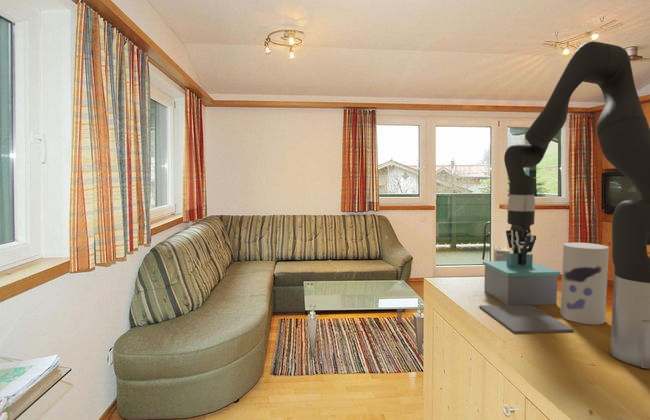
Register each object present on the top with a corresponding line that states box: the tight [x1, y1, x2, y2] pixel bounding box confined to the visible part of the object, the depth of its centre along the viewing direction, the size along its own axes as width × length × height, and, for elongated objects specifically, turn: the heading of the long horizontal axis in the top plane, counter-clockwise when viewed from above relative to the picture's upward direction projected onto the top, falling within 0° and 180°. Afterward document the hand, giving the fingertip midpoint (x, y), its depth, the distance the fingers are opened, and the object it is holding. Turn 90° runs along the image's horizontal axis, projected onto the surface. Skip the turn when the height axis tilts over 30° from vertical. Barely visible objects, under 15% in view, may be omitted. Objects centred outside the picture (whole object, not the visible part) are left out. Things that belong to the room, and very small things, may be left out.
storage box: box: [483, 265, 559, 306], centre depth 122 cm, size 15×15×9 cm
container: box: [560, 242, 610, 326], centre depth 103 cm, size 10×10×20 cm
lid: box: [482, 252, 561, 276], centre depth 122 cm, size 16×16×6 cm
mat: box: [478, 304, 575, 334], centre depth 104 cm, size 19×15×1 cm
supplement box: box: [493, 245, 511, 261], centre depth 137 cm, size 8×5×13 cm, turn 160°
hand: (519, 263), depth 122 cm, fingers closed on lid, 2 cm apart
